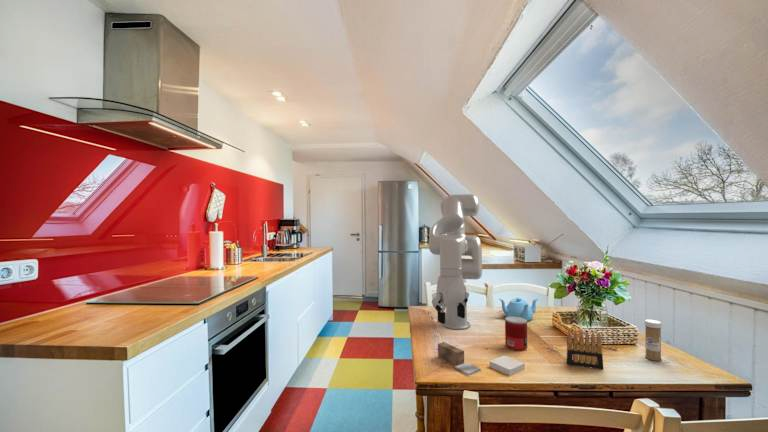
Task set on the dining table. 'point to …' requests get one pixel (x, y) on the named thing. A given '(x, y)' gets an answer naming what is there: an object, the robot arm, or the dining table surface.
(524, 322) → the canned food
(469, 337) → the dining table surface
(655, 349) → the sprinkles bottle
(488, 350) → the dining table surface
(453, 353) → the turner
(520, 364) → the tile
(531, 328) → the dining table surface
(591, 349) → the ammunition clip
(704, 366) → the dining table surface
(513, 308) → the teapot
